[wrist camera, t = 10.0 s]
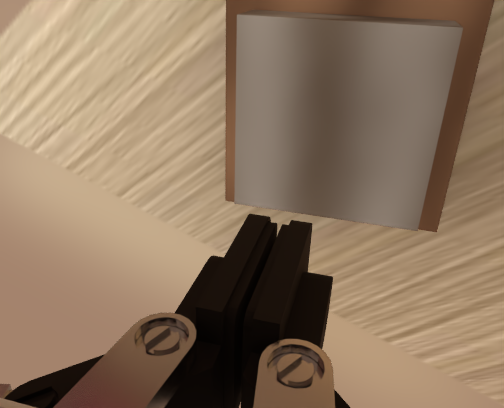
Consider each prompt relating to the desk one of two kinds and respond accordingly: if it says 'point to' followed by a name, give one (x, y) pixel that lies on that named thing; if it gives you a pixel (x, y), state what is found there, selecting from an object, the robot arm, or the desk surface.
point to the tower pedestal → (349, 105)
